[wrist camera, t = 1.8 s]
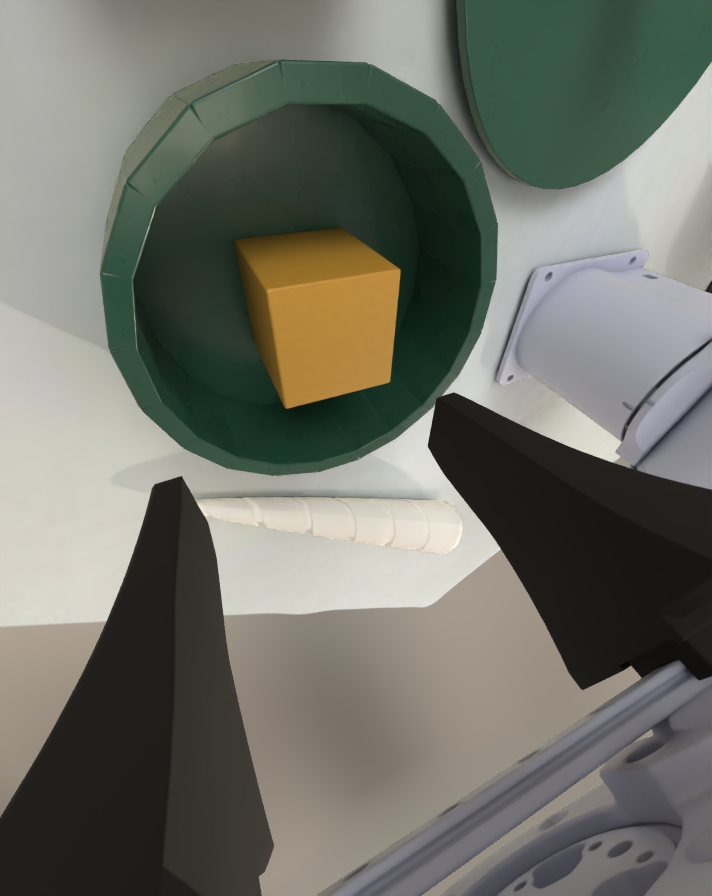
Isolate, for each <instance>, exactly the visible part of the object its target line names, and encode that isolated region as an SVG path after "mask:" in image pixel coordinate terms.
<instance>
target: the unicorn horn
mask: <svg viewBox="0 0 712 896" xmlns="http://www.w3.org/2000/svg"><path fill="white" fill-rule="evenodd" d="M195 501H196V502H197V504H198V506H199V508H200V509H201V511H202V513H203V515H204V516H207V515H210V516H211V517H212V518H216V519H221V520H226V521H231V522H237V523H242V524H248V525H253V526H259V524H260V523H264V525H265V527H266V528H271V529H276V530H282V531H288V532H294V533H300V534H305V533H306V531H310V532H311V534H312V535H313V536H319V537H326V538H332V539H339V540H345V541H348V540H349V538H351V540H352V541H353V542H358V543H365V544H372V545H379V546H384V545H385V546H388V547H393V548H400V549H407V550H413V551H415V550H417V551H420V552H427V553H433V554H445V553H448V552H451V551H452V550H453V549H454V548H455V547H456V546H457V544H458V543H459V540H460V538H461V536H462V529H463V524H462V520H461V517H460V514H459V513H458V511H457V510H456V509H455V507H454V506H452V505H451V504H449V503H448V502H446V501H440V500H414V499H402V500H401V499H373V498H370V499H367V498H328V497H292V498H288V497H248V498H241V499H240V498H214V499H198V500H195Z"/></svg>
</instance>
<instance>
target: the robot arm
mask: <svg viewBox="0 0 712 896" xmlns="http://www.w3.org/2000/svg"><path fill="white" fill-rule="evenodd" d="M648 257H649V251H648V250H645V249H640V250H634V251H628V252H623V253H617V254H611V255H606V256H600V257H594V258H589V259H583V260H577V261H572V262H566V263H560V264H555V265H549V266H543V267H539V268H537V269H536V270H535V271H534V272H533V274H532V276H531V278H530V281H529V284H528V287H527V290H526V293H525V295H524V298H523V301H522V304H521V307H520V310H519V313H518V316H517V319H516V322H515V325H514V327H513V330H512V333H511V336H510V339H509V342H508V345H507V348H506V351H505V354H504V356H503V359H502V362H501V365H500V368H499V371H498V374H497V377H496V382H497V383H498V384H499V385H504V384H507V383H511V382H514V381H518V380H521V379H525V378H528V377H532V376H534V377H535V378H536V379H538V380H539V381H540V382H542V383H543V384H544V385H546V386H547V387H548V388H550V389H551V390H553V391H554V392H555V393H557V394H558V395H559V396H561V397H562V398H563V399H565V400H566V401H567V402H569V403H570V404H571V405H573V406H574V407H575V408H577V409H578V410H579V411H581V412H582V413H583V414H585V415H586V416H587V417H589V418H590V419H591V420H593V421H594V422H595V423H597V424H598V425H600V426H601V427H602V428H604V429H605V430H606V431H608V432H609V433H610V434H612V435H613V436H614V437H616V438H617V439H618V440H620V441H621V442H622V443H621V445H620V446H619V447H618V449H617V450H616V453H617V454H618V455H620V456H621V457H622V458H624V459H625V460H626V461H627V462H628V463H627V465H626V467H624V466H621V465H618V464H615V463H612V462H609V461H606V460H603V459H601V458H598V457H595V456H592V455H590V454H587V453H584V452H581V451H579V450H576V449H574V448H571V447H569V446H566V445H564V444H562V443H559V442H557V441H555V440H552V439H550V438H548V437H545V436H543V435H541V434H539V433H537V432H534V431H532V430H530V429H528V428H526V427H524V426H522V425H520V424H518V423H516V422H514V421H511V420H509V419H507V418H505V417H503V416H501V415H499V414H497V413H495V412H493V411H491V410H490V409H488V408H486V407H484V406H482V405H480V404H478V403H476V402H474V401H471V400H469V399H467V398H465V397H463V396H461V395H459V394H456V393H451V394H448V395H444V396H441V397H438V398H436V404H435V409H434V415H433V420H432V426H431V431H430V437H429V442H428V448H429V449H430V451H431V453H432V455H433V457H434V458H435V460H436V462H437V463H438V465H439V467H440V468H441V470H442V472H443V473H444V475H445V476H446V477H447V479H448V480H449V481H450V482H451V484H452V485H453V486H454V488H455V489H456V490H457V491H458V493H459V494H460V495H461V497H462V498H463V499H464V500H465V502H466V503H467V504H468V505H469V507H470V508H471V509H472V510H473V512H474V513H475V514H476V515H477V517H478V518H479V519H480V520H481V522H482V523H483V524H484V525H485V527H486V528H487V529H488V531H489V532H490V534H491V535H492V536H493V538H494V539H495V540H496V542H497V544H498V545H499V547H500V548H501V550H502V551H503V553H504V554H505V556H506V558H507V559H508V561H509V562H510V564H511V565H512V567H513V569H514V570H515V572H516V574H517V575H518V577H519V579H520V580H521V582H522V584H523V586H524V587H525V589H526V591H527V592H528V594H529V596H530V598H531V599H532V601H533V603H534V605H535V607H536V608H537V610H538V612H539V614H540V616H541V618H542V619H543V621H544V623H545V625H546V627H547V629H548V631H549V633H550V635H551V637H552V638H553V641H554V643H555V645H556V647H557V649H558V651H559V653H560V654H561V657H562V659H563V661H564V663H565V665H566V668H567V670H568V672H569V674H570V675H571V676H572V678H573V679H574V680H575V681H576V683H577V684H578V686H579V687H580V688H581V689H582V690H584V689H586V688H588V687H590V686H592V685H594V684H596V683H599V682H601V681H603V680H605V679H607V678H609V677H611V676H613V675H615V674H617V673H619V672H621V671H623V670H625V669H626V668H628V667H629V666H632V667H633V668H634V669H635V670H636V672H637V673H638V674H639V675H640V676H641V678H642V679H640V680H639V681H638V682H636V683H634V684H633V685H631V686H630V687H628V688H627V689H626V690H624V691H622V692H621V693H619V694H618V695H616V696H615V697H614V698H612V699H611V700H609V701H607V702H606V703H604V704H603V705H601V706H600V707H598V708H597V709H595V710H594V711H592V712H591V713H589V714H588V715H586V716H585V717H583V718H582V719H580V720H579V721H577V722H576V723H574V724H573V725H571V726H570V727H568V728H567V729H565V730H564V731H562V732H561V733H559V734H558V735H556V736H555V737H553V738H552V739H551V740H549V741H547V742H546V743H544V744H543V745H541V746H540V747H538V748H537V749H535V750H534V751H532V752H531V753H529V754H528V755H526V756H525V757H523V758H522V759H520V760H519V761H517V762H516V763H514V764H513V765H511V766H510V767H508V768H507V769H505V770H504V771H502V772H501V773H499V774H498V775H496V776H495V777H493V778H492V779H490V780H489V781H487V782H486V783H484V784H483V785H481V786H480V787H478V788H477V789H475V790H474V791H472V792H471V793H469V794H468V795H466V796H465V797H463V798H462V799H460V800H459V801H457V802H456V803H454V804H453V805H451V806H450V807H448V808H447V809H445V810H444V811H442V812H440V813H439V814H437V815H436V816H434V817H433V818H432V819H430V820H428V821H427V822H425V823H424V824H423V825H421V826H420V827H418V828H416V829H415V830H413V831H412V832H410V833H409V834H407V835H406V836H404V837H403V838H402V839H400V840H398V841H397V842H395V843H394V844H393V845H391V846H389V847H388V848H386V849H385V850H384V851H382V852H380V853H379V854H377V855H376V856H374V857H373V858H371V859H370V860H368V861H367V862H365V863H364V864H362V865H361V866H359V867H358V868H356V869H355V870H353V871H352V872H351V873H349V874H347V875H346V876H344V877H343V878H341V879H340V880H338V881H337V882H335V883H334V884H332V885H331V886H329V887H328V888H326V889H325V890H324V891H322V892H320V893H319V894H317V895H316V896H421V895H423V894H424V893H425V892H427V891H428V890H430V889H431V888H432V887H434V886H435V885H436V884H438V883H439V882H440V881H442V880H443V879H445V878H446V877H447V876H449V875H450V874H452V873H453V872H454V871H456V870H457V869H458V868H460V867H461V866H462V865H464V864H465V863H467V862H468V861H469V860H471V859H472V858H474V857H475V856H476V855H478V854H479V853H481V852H482V851H483V850H485V849H486V848H487V847H489V846H490V845H492V844H493V843H494V842H496V841H497V840H499V839H500V838H501V837H503V836H504V835H505V834H507V833H508V832H510V831H511V830H512V829H514V828H515V827H516V826H518V825H519V824H521V823H522V822H523V821H525V820H526V819H527V818H529V817H530V816H532V815H533V814H534V813H536V812H537V811H538V810H540V809H541V808H543V807H544V806H545V805H547V804H548V803H550V802H551V801H552V800H554V799H555V798H556V797H558V796H559V795H561V794H562V793H563V792H565V791H566V790H567V789H569V788H570V787H571V786H573V785H574V784H576V783H577V782H578V781H580V780H581V779H583V778H584V777H585V776H587V775H588V774H589V773H591V772H592V771H594V770H595V769H596V768H598V767H599V766H601V765H602V764H603V763H605V762H606V761H607V760H608V761H607V762H606V763H605V764H604V766H603V767H602V768H601V769H600V777H601V779H602V780H603V781H604V783H603V784H602V785H600V786H598V787H597V788H595V789H593V790H592V791H590V792H589V793H587V794H585V795H584V796H582V797H580V798H579V799H577V800H575V801H574V802H572V803H571V804H569V805H567V806H566V807H564V808H562V809H561V810H559V811H557V812H556V813H554V814H553V815H551V816H549V817H548V818H546V819H544V820H543V821H541V822H539V823H538V824H536V825H535V826H533V827H531V828H530V829H528V830H527V831H525V832H523V833H522V834H520V835H519V836H517V837H516V838H514V839H513V840H511V841H510V842H508V843H507V844H505V845H504V846H502V847H501V848H500V849H498V850H497V851H495V852H494V853H492V854H491V855H490V856H488V857H487V858H486V859H484V860H483V861H482V862H480V863H479V864H478V865H476V866H475V867H474V868H472V869H471V870H470V871H469V872H467V873H466V874H465V875H464V876H462V877H461V878H460V879H459V880H458V881H456V883H454V884H453V885H452V886H451V887H449V888H448V889H447V890H446V891H445V892H444V893H442V894H441V895H440V896H712V294H711V293H708V292H706V291H703V290H700V289H698V288H695V287H692V286H690V285H687V284H684V283H682V282H679V281H676V280H674V279H671V278H668V277H666V276H663V275H661V274H658V273H655V272H653V271H650V270H647V269H645V268H643V266H644V264H645V263H646V261H647V259H648ZM650 729H652V731H653V736H652V737H649V738H645V739H642V740H639V741H637V742H634V741H635V740H636V739H638V738H639V737H641V736H642V735H643V734H645V733H646V732H648V731H649V730H650ZM632 742H633V743H632ZM273 847H274V844H273V840H272V836H271V833H270V829H269V825H268V822H267V818H266V814H265V810H264V806H263V802H262V799H261V795H260V791H259V787H258V783H257V779H256V775H255V771H254V767H253V762H252V758H251V754H250V750H249V746H248V742H247V738H246V733H245V729H244V725H243V721H242V716H241V712H240V707H239V703H238V699H237V694H236V690H235V685H234V680H233V676H232V671H231V666H230V662H229V656H228V649H227V643H226V635H225V627H224V617H223V608H222V600H221V591H220V582H219V574H218V566H217V558H216V554H215V549H214V545H213V541H212V537H211V533H210V529H209V525H208V522H207V520H206V518H205V516H204V515H203V513H202V511H201V509H200V508H199V506H198V504H197V502H196V501H195V499H194V497H193V495H192V494H191V492H190V490H189V488H188V487H187V485H186V483H185V481H184V480H183V478H182V476H181V477H177V478H174V479H171V480H168V481H164V482H161V483H158V484H155V485H154V487H153V488H152V491H151V495H150V499H149V503H148V506H147V510H146V514H145V517H144V521H143V524H142V527H141V531H140V534H139V537H138V540H137V543H136V546H135V549H134V552H133V555H132V558H131V561H130V563H129V566H128V569H127V572H126V575H125V578H124V580H123V583H122V585H121V588H120V590H119V593H118V595H117V598H116V600H115V602H114V605H113V607H112V610H111V612H110V615H109V617H108V620H107V622H106V624H105V626H104V629H103V631H102V633H101V635H100V638H99V640H98V642H97V644H96V646H95V648H94V650H93V653H92V655H91V657H90V659H89V661H88V663H87V665H86V667H85V669H84V671H83V673H82V675H81V677H80V679H79V681H78V683H77V685H76V687H75V689H74V690H73V693H72V694H71V696H70V698H69V700H68V702H67V704H66V706H65V707H64V709H63V711H62V713H61V715H60V717H59V719H58V720H57V722H56V725H55V726H54V728H53V730H52V731H51V733H50V735H49V737H48V738H47V740H46V742H45V744H44V746H43V747H42V749H41V751H40V753H39V754H38V756H37V758H36V760H35V761H34V763H33V764H32V766H31V768H30V769H29V771H28V773H27V774H26V776H25V778H24V779H23V781H22V783H21V784H20V786H19V787H18V789H17V791H16V792H15V794H14V796H13V797H12V799H11V801H10V802H9V804H8V806H7V807H6V809H5V810H4V812H3V814H2V815H1V817H0V896H262V895H261V889H260V884H259V883H260V882H259V876H260V875H261V874H262V873H264V872H265V869H266V867H267V865H268V862H269V859H270V857H271V854H272V851H273Z"/></svg>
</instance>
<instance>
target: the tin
mask: <svg viewBox="0 0 712 896" xmlns="http://www.w3.org/2000/svg"><path fill="white" fill-rule="evenodd" d="M333 228H343V229H345V230H346V231H347V232H349V233H350V234H352V235H353V236H354V237H356V238H357V239H359V240H360V241H361V242H363V243H364V244H366V245H367V246H368V247H370V248H371V249H373V250H374V251H375V252H377V253H378V254H380V255H381V256H382V257H384V258H385V259H386V260H388V261H389V262H391V263H392V264H393V265H395V266H396V267H398V268H399V269H400V272H401V273H400V283H399V294H398V304H397V314H396V325H395V335H394V346H393V356H392V366H391V377H390V382H389V383H386V384H382V385H378V386H374V387H370V388H366V389H362V390H358V391H354V392H350V393H347V394H343V395H339V396H335V397H331V398H327V399H323V400H319V401H315V402H311V403H307V404H304V405H300V406H296V407H292V408H288V409H286V408H285V407H284V405H283V403H282V401H281V399H280V397H279V394H278V392H277V390H276V388H275V386H274V384H273V382H272V380H271V378H270V375H269V373H268V371H267V369H266V367H265V365H264V363H263V361H262V359H261V357H260V354H259V352H258V350H257V348H256V346H255V343H254V338H253V333H252V328H251V323H250V318H249V314H248V309H247V304H246V299H245V294H244V289H243V284H242V279H241V275H240V270H239V265H238V260H237V255H236V250H235V245H234V240H236V239H244V238H253V237H262V236H271V235H280V234H288V233H297V232H306V231H315V230H324V229H333ZM497 236H498V223H497V219H496V215H495V212H494V208H493V204H492V201H491V197H490V193H489V190H488V186H487V182H486V179H485V175H484V171H483V168H482V164H481V162H480V161H479V158H478V156H477V155H476V153H475V152H474V151H473V149H472V148H471V146H470V145H469V144H468V142H467V141H466V140H465V138H464V137H463V135H462V134H461V133H460V131H459V130H458V128H457V127H456V126H455V124H454V123H453V122H452V120H451V119H450V117H449V116H448V115H447V113H446V112H445V110H444V109H443V108H442V106H441V105H440V104H438V103H437V102H436V100H434V99H432V98H431V97H429V96H427V95H425V94H424V93H422V92H420V91H418V90H416V89H415V88H413V87H411V86H409V85H408V84H406V83H404V82H402V81H400V80H399V79H397V78H395V77H393V76H392V75H390V74H388V73H386V72H384V71H383V70H381V69H379V68H377V67H376V66H374V65H372V64H368V63H366V62H335V61H303V60H274V61H262V62H250V63H240V64H235V65H233V66H231V67H229V68H226V69H224V70H222V71H220V72H218V73H215V74H212V75H210V76H208V77H206V78H204V79H202V80H200V81H198V82H196V83H194V84H192V85H190V86H188V87H186V88H184V89H182V90H180V91H178V92H176V93H174V94H173V96H170V97H169V98H168V100H167V101H166V102H165V103H164V105H163V106H162V107H161V108H160V110H159V111H158V112H157V113H156V114H155V115H154V116H153V117H152V119H151V120H150V121H149V122H148V123H147V124H146V125H145V126H144V128H143V129H142V131H141V132H140V134H139V136H138V137H137V138H136V140H135V141H134V142H133V143H132V145H131V146H130V147H129V148H128V150H127V151H126V155H125V156H124V159H123V162H122V166H121V169H120V173H119V177H118V179H117V183H116V187H115V191H114V195H113V199H112V202H111V206H110V210H109V213H108V217H107V221H106V229H105V237H104V245H103V252H102V260H101V269H100V279H101V287H102V296H103V304H104V313H105V322H106V330H107V339H108V348H109V349H110V353H111V355H112V357H113V359H114V361H115V362H116V364H117V366H118V368H119V370H120V372H121V374H122V376H123V378H124V379H125V381H126V383H127V385H128V387H129V389H130V391H131V393H132V395H133V396H134V398H135V400H136V402H137V404H138V406H139V407H140V408H141V409H142V411H143V412H144V413H145V414H146V415H147V416H148V417H150V418H151V419H152V420H153V421H154V422H155V423H156V424H157V425H158V426H159V427H160V428H162V429H163V430H164V431H165V432H166V433H167V434H168V435H169V436H170V437H171V438H173V439H174V440H175V441H176V442H177V443H178V444H179V445H180V446H181V447H183V448H184V449H186V450H188V451H190V452H192V453H194V454H197V455H199V456H201V457H203V458H205V459H208V460H210V461H212V462H214V463H216V464H219V465H221V466H223V467H225V468H227V469H229V468H230V469H233V470H240V471H246V472H253V473H259V474H266V475H272V476H274V475H276V476H278V475H290V474H301V473H312V472H321V471H324V470H327V469H330V468H333V467H336V466H340V465H343V464H346V463H349V462H352V461H355V460H358V459H360V458H362V457H364V456H365V455H367V454H369V453H371V452H373V451H375V450H376V449H378V448H380V447H382V446H384V445H385V444H387V443H389V442H391V441H393V440H394V439H396V438H397V437H398V436H400V435H401V434H402V433H403V432H404V431H406V430H407V429H408V428H409V427H410V426H412V425H413V424H414V423H415V422H416V421H418V420H419V419H420V418H421V417H422V416H424V415H425V414H426V413H427V412H428V411H429V410H431V409H432V407H433V406H434V405H435V404H436V398H438V397H441V396H442V395H443V394H444V393H445V391H446V390H447V389H448V388H449V386H450V385H451V384H452V383H453V382H454V380H455V379H456V378H457V377H458V375H459V374H460V372H461V370H462V368H463V366H464V365H465V363H466V361H467V359H468V357H469V355H470V353H471V351H472V350H473V348H474V346H475V344H476V342H477V340H478V338H479V336H480V334H481V331H482V328H483V325H484V321H485V318H486V314H487V311H488V307H489V303H490V300H491V296H492V293H493V289H494V286H495V281H496V272H497Z"/></svg>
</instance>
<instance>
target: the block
mask: <svg viewBox="0 0 712 896" xmlns="http://www.w3.org/2000/svg"><path fill="white" fill-rule="evenodd" d="M234 245H235V250H236V255H237V260H238V265H239V270H240V275H241V279H242V284H243V289H244V294H245V299H246V304H247V309H248V314H249V318H250V323H251V328H252V333H253V338H254V343H255V346H256V348H257V350H258V352H259V354H260V357H261V359H262V361H263V363H264V365H265V367H266V369H267V371H268V373H269V375H270V378H271V380H272V382H273V384H274V386H275V388H276V390H277V392H278V394H279V397H280V399H281V401H282V403H283V405H284V407H285V408H286V409H288V408H292V407H296V406H300V405H304V404H307V403H311V402H315V401H319V400H323V399H327V398H331V397H335V396H339V395H343V394H347V393H350V392H354V391H358V390H362V389H366V388H370V387H374V386H378V385H382V384H386V383H389V382H390V377H391V366H392V356H393V346H394V335H395V325H396V314H397V304H398V294H399V283H400V273H401V272H400V269H399V268H398V267H396V266H395V265H393V264H392V263H391V262H389V261H388V260H386V259H385V258H384V257H382V256H381V255H380V254H378V253H377V252H375V251H374V250H373V249H371V248H370V247H368V246H367V245H366V244H364V243H363V242H361V241H360V240H359V239H357V238H356V237H354V236H353V235H352V234H350V233H349V232H347V231H346V230H345V229H343V228H333V229H324V230H315V231H306V232H297V233H288V234H280V235H271V236H262V237H253V238H244V239H236V240H234Z"/></svg>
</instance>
